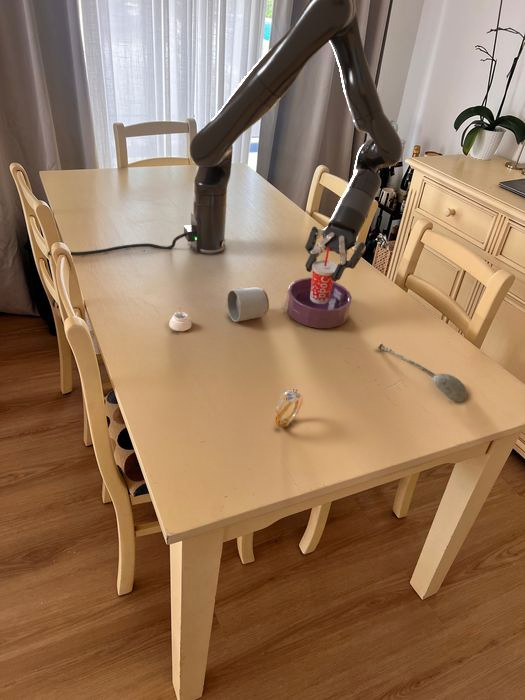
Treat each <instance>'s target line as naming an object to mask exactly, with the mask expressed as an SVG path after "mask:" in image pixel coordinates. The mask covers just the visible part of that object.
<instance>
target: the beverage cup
mask: <svg viewBox="0 0 525 700" xmlns="http://www.w3.org/2000/svg"><path fill="white" fill-rule="evenodd" d="M329 248H330V247H329V246H328V247H327V251H326V252H325V253H326V254H325V259H324V260H322V259H320V260H316V261H315V262H314V263H313V264H312V271H311V273H312V274H311V278H312V282H311V292H310V300H311V301H313V302H314V303H317V304H325V303H327V302H328V301H329V297H330V293H331V290H332V286H333V282H334V281H333V280H332V276H333V274H334V272H335V270H336V268H337V266H338V264H336V263H335V262H333V261H328V259H329V252H330V251H329Z"/></svg>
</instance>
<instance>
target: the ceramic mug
mask: <svg viewBox="0 0 525 700" xmlns="http://www.w3.org/2000/svg"><path fill="white" fill-rule="evenodd" d="M226 307H227V311H228V314H229V317H230V318H231V320H232V322H236V323H238V322H242V321H248V320H254V319H259V318H262V317H265V316H266V315H267V313H269V308H270V300H269V296H268V293H267V292H266V290H265V289H263V288H262V287H243V288H233V289H230V290H229V291H228V293H227V297H226Z"/></svg>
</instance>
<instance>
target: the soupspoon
mask: <svg viewBox="0 0 525 700" xmlns="http://www.w3.org/2000/svg"><path fill="white" fill-rule="evenodd" d="M377 350H378V351H384V352H388V353H389V354H392V355H394V356H396V357H398V358H400V359H401V360H403V361H405V362H407V363H408V364H410V365H412V366H414V367H416V368H418V369H419V370H421V371H422V372H424V373H426V374H427V375H429V376H430V377H432V381H433V383H434V385H435V386H436V387H437V389H439V390H440V391H441V392H442V393H443V394H444V395H445V396H446V397H447V398H449V399H450V400H452V401H455V402H458V403H461V402H462V403H463V402H465V401H466V400H467V398H468V390H467V388H466V386H465V385H464V383H463V382H462V381H461V380H460V379H458V377H456V376H454V375H451V374H449V373H437V374H436V373H434V372H432V371H431V370H430V369H427V368H426V367H425V366H423V365H420V364H419V363H417V362H416V361H413V360H411V359H409V358H407V357H405V356H404V355H401V354H399V353H398V352H395V351H394V350H392V349H391V348H388V347H387V346H385V345H384V344H383V343H379V345H377Z"/></svg>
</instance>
